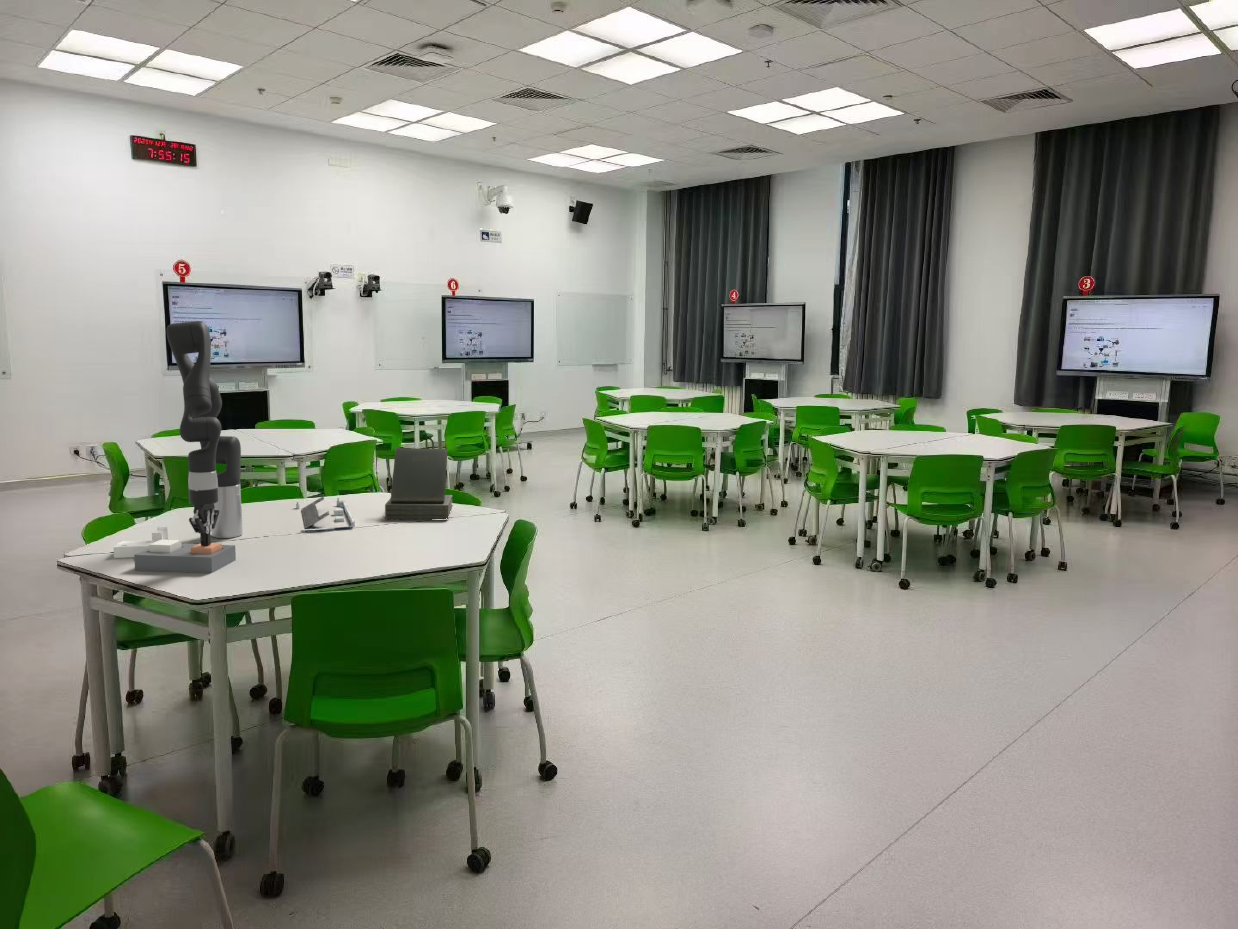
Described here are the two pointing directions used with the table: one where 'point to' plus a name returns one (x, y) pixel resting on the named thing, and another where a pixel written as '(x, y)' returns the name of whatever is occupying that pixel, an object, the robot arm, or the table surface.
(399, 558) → the table surface
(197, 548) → the terracotta key
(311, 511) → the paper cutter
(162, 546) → the off-white key
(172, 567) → the key panel
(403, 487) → the upright slab on base
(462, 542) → the table surface
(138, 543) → the bracket
